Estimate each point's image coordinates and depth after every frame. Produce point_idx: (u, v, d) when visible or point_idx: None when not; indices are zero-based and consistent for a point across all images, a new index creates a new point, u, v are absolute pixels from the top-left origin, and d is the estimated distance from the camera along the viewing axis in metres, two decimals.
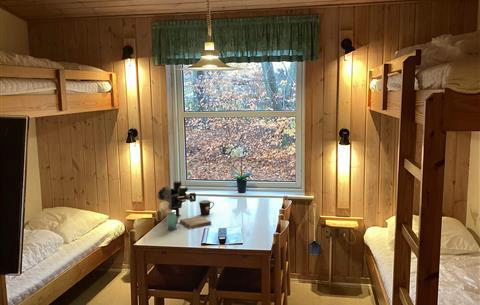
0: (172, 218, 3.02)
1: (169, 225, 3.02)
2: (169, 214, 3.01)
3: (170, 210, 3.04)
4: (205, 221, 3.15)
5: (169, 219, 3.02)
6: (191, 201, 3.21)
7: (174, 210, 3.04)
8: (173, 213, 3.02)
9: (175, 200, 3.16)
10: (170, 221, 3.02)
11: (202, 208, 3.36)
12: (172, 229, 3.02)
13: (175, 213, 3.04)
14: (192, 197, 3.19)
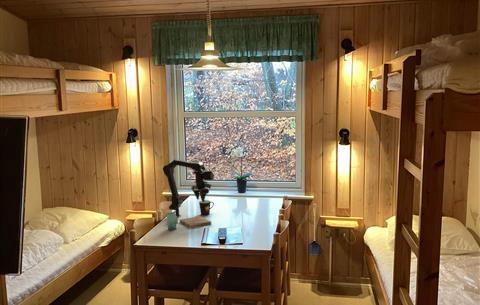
0: (172, 218, 3.02)
1: (169, 225, 3.02)
2: (169, 214, 3.01)
3: (170, 210, 3.04)
4: (205, 221, 3.15)
5: (169, 219, 3.02)
6: (194, 193, 3.32)
7: (174, 210, 3.04)
8: (173, 213, 3.02)
9: None
10: (170, 221, 3.02)
11: (202, 208, 3.36)
12: (172, 229, 3.02)
13: (175, 213, 3.03)
14: None
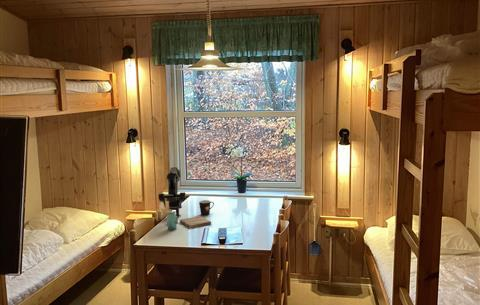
0: (172, 218, 3.02)
1: (169, 225, 3.02)
2: (169, 214, 3.01)
3: (170, 210, 3.04)
4: (205, 221, 3.15)
5: (169, 219, 3.02)
6: (164, 199, 3.13)
7: (174, 210, 3.04)
8: (173, 213, 3.02)
9: (181, 198, 3.16)
10: (171, 220, 3.02)
11: (202, 208, 3.36)
12: (172, 229, 3.02)
13: (175, 213, 3.04)
14: None
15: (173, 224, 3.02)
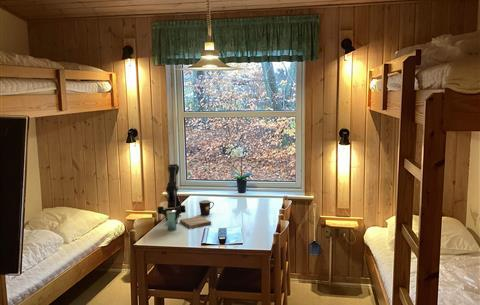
0: (172, 218, 3.01)
1: (169, 225, 3.02)
2: (169, 214, 3.01)
3: (170, 210, 3.04)
4: (205, 221, 3.15)
5: (169, 219, 3.02)
6: None
7: (174, 210, 3.04)
8: (173, 213, 3.02)
9: (179, 211, 3.07)
10: (171, 221, 3.01)
11: (202, 208, 3.36)
12: (172, 229, 3.02)
13: (175, 213, 3.03)
14: None
15: (173, 224, 3.02)
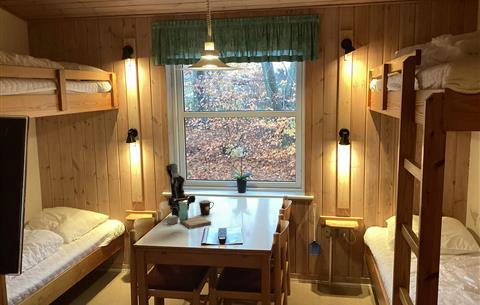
0: (185, 208, 3.03)
1: (182, 215, 3.03)
2: (182, 205, 3.02)
3: (181, 201, 3.05)
4: (205, 221, 3.15)
5: (182, 209, 3.03)
6: (177, 203, 3.05)
7: (186, 200, 3.06)
8: (186, 203, 3.03)
9: (189, 201, 3.10)
10: (184, 211, 3.03)
11: (202, 208, 3.36)
12: (185, 219, 3.04)
13: None
14: (177, 207, 3.06)
15: (186, 214, 3.04)
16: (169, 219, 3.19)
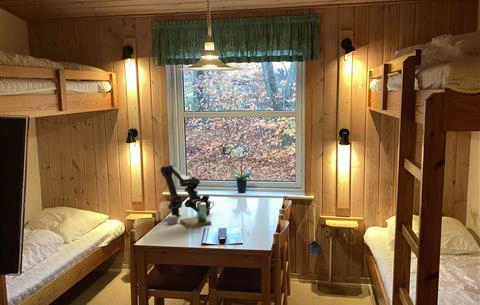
0: (205, 210, 3.12)
1: (203, 217, 3.12)
2: (203, 207, 3.10)
3: (200, 203, 3.13)
4: None
5: (203, 211, 3.11)
6: (195, 204, 3.10)
7: (203, 202, 3.14)
8: (205, 205, 3.12)
9: None
10: (204, 212, 3.12)
11: None
12: (205, 220, 3.13)
13: None
14: (194, 208, 3.12)
15: (205, 215, 3.13)
16: (169, 219, 3.19)
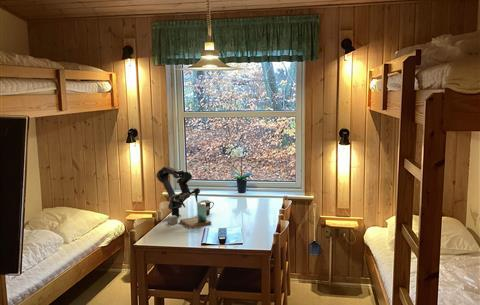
0: (205, 210, 3.12)
1: (203, 217, 3.12)
2: (203, 206, 3.11)
3: (200, 203, 3.13)
4: None
5: (203, 211, 3.11)
6: None
7: (203, 202, 3.15)
8: (205, 205, 3.13)
9: (196, 194, 3.23)
10: (204, 212, 3.12)
11: None
12: (205, 220, 3.13)
13: None
14: None
15: (205, 215, 3.13)
16: (169, 219, 3.19)
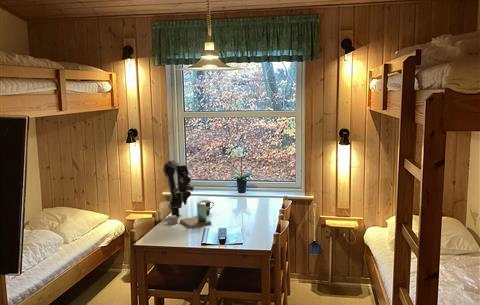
0: (205, 210, 3.12)
1: (203, 217, 3.12)
2: (203, 206, 3.11)
3: (200, 203, 3.13)
4: None
5: (203, 211, 3.11)
6: (177, 195, 3.25)
7: (203, 202, 3.15)
8: (205, 205, 3.13)
9: None
10: (204, 212, 3.12)
11: None
12: (205, 220, 3.13)
13: None
14: (181, 197, 3.27)
15: (205, 215, 3.13)
16: (169, 219, 3.19)
